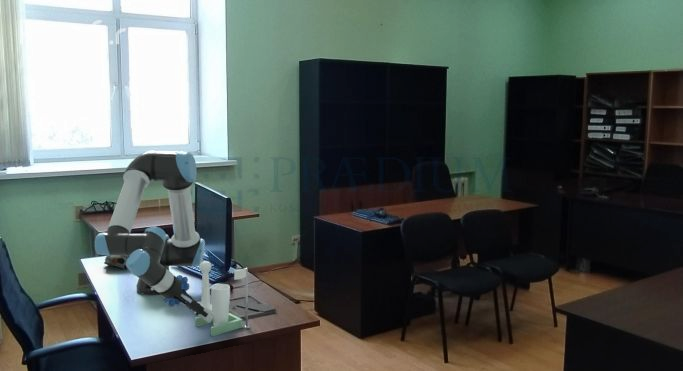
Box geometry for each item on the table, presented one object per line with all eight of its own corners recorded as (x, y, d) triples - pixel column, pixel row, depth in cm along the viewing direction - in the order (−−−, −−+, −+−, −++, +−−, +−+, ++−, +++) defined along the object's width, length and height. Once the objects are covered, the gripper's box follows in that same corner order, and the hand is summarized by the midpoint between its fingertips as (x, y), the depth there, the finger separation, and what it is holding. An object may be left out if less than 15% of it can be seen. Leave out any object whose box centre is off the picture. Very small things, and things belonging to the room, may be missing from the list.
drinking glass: (213, 322, 213) (213, 283, 211) (231, 323, 213) (231, 283, 211) (209, 329, 207) (208, 289, 204) (228, 330, 207) (228, 290, 204)
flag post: (232, 330, 207) (232, 269, 204) (247, 325, 211) (247, 266, 208) (236, 332, 205) (236, 271, 202) (251, 327, 210) (251, 268, 206)
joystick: (220, 312, 223) (219, 262, 220) (205, 318, 217) (204, 266, 214) (200, 306, 230) (199, 257, 227) (185, 311, 223) (184, 261, 220)
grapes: (182, 298, 237) (182, 270, 235) (193, 302, 233) (192, 273, 231) (158, 306, 228) (157, 277, 226) (168, 310, 224) (168, 280, 222)
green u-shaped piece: (194, 325, 210) (194, 317, 210) (223, 317, 219) (223, 309, 218) (212, 336, 201) (212, 328, 201) (242, 327, 210) (242, 319, 209)
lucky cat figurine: (103, 264, 282) (115, 237, 285) (128, 272, 285) (139, 246, 288) (101, 263, 268) (114, 235, 271) (127, 272, 271) (139, 244, 274)
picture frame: (275, 313, 225) (252, 297, 242) (275, 308, 225) (252, 292, 242) (237, 321, 216) (215, 304, 233) (237, 316, 216) (215, 299, 233)
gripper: (149, 288, 197) (194, 322, 210) (167, 298, 187) (213, 333, 201) (164, 270, 199) (207, 305, 213) (182, 279, 190) (226, 315, 204)
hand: (210, 319), depth 207 cm, fingers closed
